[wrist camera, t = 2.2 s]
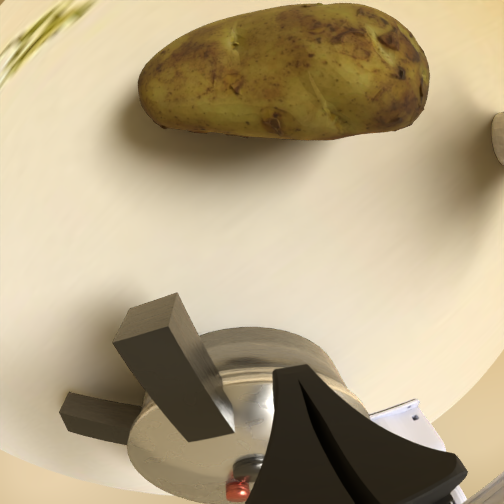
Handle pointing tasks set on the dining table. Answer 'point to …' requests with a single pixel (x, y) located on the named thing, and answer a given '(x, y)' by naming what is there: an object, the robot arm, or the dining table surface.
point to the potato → (290, 75)
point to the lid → (195, 409)
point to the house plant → (498, 136)
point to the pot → (227, 363)
